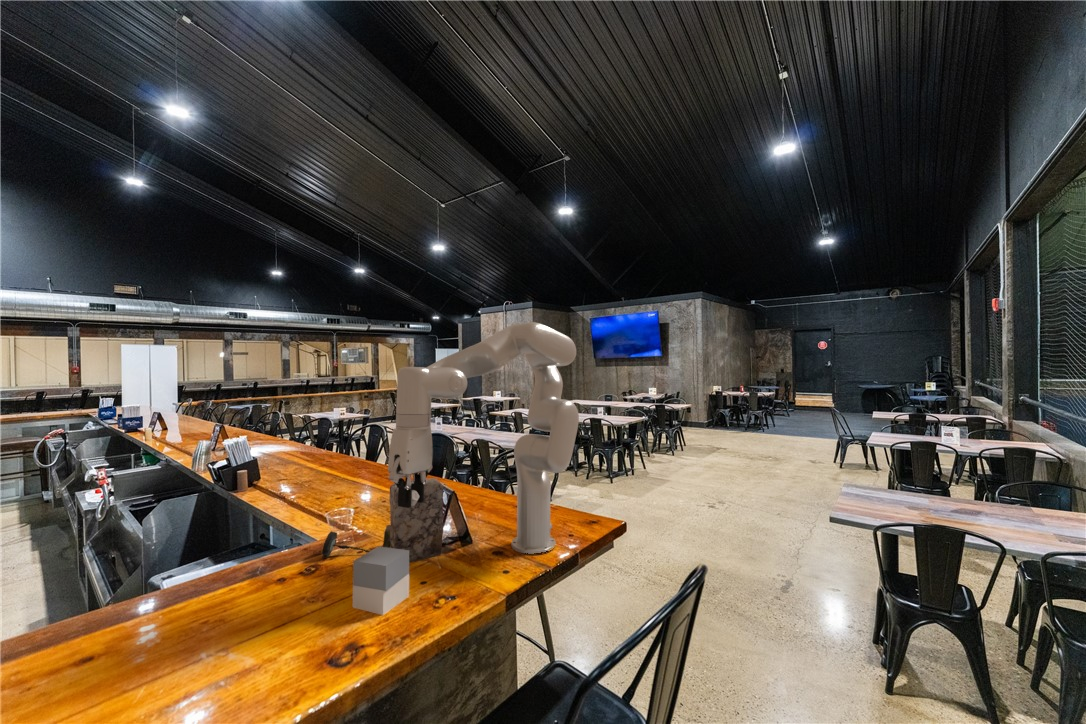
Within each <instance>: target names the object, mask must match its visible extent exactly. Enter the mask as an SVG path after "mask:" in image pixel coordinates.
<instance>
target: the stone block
mask: <svg viewBox="0 0 1086 724" xmlns="http://www.w3.org/2000/svg"><path fill="white" fill-rule="evenodd" d="M412 483H414V482H413V480H411V482H410V488H409V489H411V484H412ZM423 485H424V502H422V503H419V502H417V503H416V504H415V506H411V507H410V508H405V507H399V506H398V488H396V484H395V483H393V484H391V485H390V486H389V500H388V501H389V507H390V509H389V511H390V513H389V514H390V515H389V517H390V525H391V527H390V529H391V530H390V548H395V549H402V550H409V564H410V563H414V562H418V561H423V560H425V559H426V560H427V559H430V558H434V557H437V556H441V555H442V549H443V548H442V547H443V532H444V531H443V530H444V529H443V523H444V522H443V520H444V518H443V514H444V508H443V506H444V498H443V493H444V489H445V488H444V484H442V483H441V482H440V481H439V480H438V479H437V478H426V483H425V484H423Z"/></svg>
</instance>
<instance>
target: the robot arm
mask: <svg viewBox="0 0 1086 724" xmlns="http://www.w3.org/2000/svg"><path fill="white" fill-rule="evenodd" d="M522 355H525V358H526V360H527V362H528V364H529V366H530V368H531V370H532V372H533V375H534V385H533V386H534V387H533V392H532V394H531V398H530V399H531V400H530V404H529V408H528V412H527V423H528V425H529V427H531V428H532V429H533V430H536V431H542V432H549V435H548V436H547V435H542V434H535V433H528V434H524V435H522V436H520V437H519V438H518V439H517V441H516V442H515V444H514V449H513V456H514V462H515V468H516V477H517V478H516V479H517V488H516V489H517V491H516V493H517V494H516V495H517V497H516V498H517V499H516V501H517V502H516V508H517V509H516V537H514V538H513V539H512V541H511V548H512V549H513V550H514V551H516V552H517V553H522V554H525V553H526V555H535V554H534V553H541V552H546V551H548V550H550V549H552V548H553V547H554V546H555V544H556V543H557V542H556V540H555V538H554V537H552V536H551V529H552V528H553V524H552V523H551V480H550V475H549V473H555V474H560V473H562V472H563V471H565V470H566V469H567V468H568V467H569V465H570V464H571V461H572V456H573V453H574V447H575V442H576V437H577V433H578V428H579V422H580V420H579V419H580V417H579V409H578V408H577V406H576V404H575V403H574V402H573V401H571V400H569V399H564V398H563V399H562V395H563V394H562V393H563V387H564V382H563V378H562V375H561V373H560V371H559V369H558V368H557V367H565V366H569V365H571V364H572V363H573V361H574V360H575V359H576V356H577V347H576V344H575V342H574V340H573V339H572V338H570V336H568V335H565V334H564V333H562V332H560V331H558V330H555V329H554V328H552V327H549V326H548V325H545V324H543V323H539V322H535V321H532V322H531V321H530V322H524V323H516V324H512V325H511V324H510V325H508V326H507V327H505V328H503V329H501V330H500V331H498V332H495V333H494V334H492V335H490V336H489V337H487V338H485V339H484V340H481V341H480V342H478V343H475V344H473V345H471V346H470V345H469V346H468V347H466V348H464V349H462V350H459V351H457V352H454V353H452V354H449V355H447V356H445V357H443V358H441V359H439V360H437V361H435V362H434V363H432V364H430V365H428V366H426V367H424V366H423V367H422V366H403V367H401V368H399V369H398V371H397V376H396V377H397V379H396V381H397V382H396V383H397V384H396V385H397V386H396V411H395V412H396V414H395V428H393V430H392V433H391V437H390V438H391V439H390V443H389V451H388V460H387V461H388V463H387V464H388V465H387V471H388V473H389V475H388V480H389V481H391V482H392V483H393V484H396V488H398V506H399V507H405V508H410V507H411V501H412V490H415V491H417V493H418V494H419V496H420V497H419V499H418V501H417V502H419V503H422V502H424V485H423V484H425V483H426V479H427V477H428V475H429V473H430V472H431V471H432V469H433V451H434V450H433V435H432V427H431V423H432V422H431V419H432V399H441V400H454V399H457V398H459V397H461V396H462V395H463V394H464V393H465V392H466V390H467V388H468V379H470V378H474V377H481V376H485V375H488V374H491V373H494V372H496V371H497V370H499V369H500V368H503V366H506V364H508V363H510V362H511V361H512V362H513V360H515V359H517V358H518V357H520V356H522ZM411 481H413V482H414V483H412V484H411V489H409V488H410V482H411ZM556 545H557V544H556ZM555 547H556V546H555ZM527 553H528V554H527ZM546 553H547V552H546Z"/></svg>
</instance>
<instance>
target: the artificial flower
mask: <svg viewBox="0 0 1086 724" xmlns="http://www.w3.org/2000/svg"><path fill="white" fill-rule="evenodd" d="M390 527H391V524H388V525H386V527H385V529H384V531H383V533H384V534H383V537H384V538H383V543H382V546H381V547H388V548H391V547H390V530H391V529H390ZM337 538H338V532H337V531H332V530H331V531H330V532H329V533H328V534H327V537H326V539H325V540H324V542H323V547H322V552H321V554H322V557H321V558H325V559H326V558H328V559H329V557H330V556H331V554H332V552H333V549H334V547H337V548H339V549H342V550H346V549H348V550H349V549H352V550H357V551H363V552H365V553H368V552H370V551H371V550H367V549H364V548H360V547H357V546H356V547H355V546H350V545H344V544H342V545H341V544H339V545H338V544H337Z"/></svg>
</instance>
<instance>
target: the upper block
mask: <svg viewBox="0 0 1086 724" xmlns="http://www.w3.org/2000/svg"><path fill="white" fill-rule="evenodd" d="M369 551H370V552H365V553H364V554H363V555H361V556H360V557H358V558H356V559H354V560H353V563H352V568H353V572H352V574H353V576H352V586H353V585H354V586H360V587H365V588H371V589H377V590H383V591H386V590H388V589H389V588H390V587H392V586H393V585H394V584H396V583H397V582H398V581H400V580H401V579H402V578H404V577H405V576H406V575H408V574H409V575H410V563H409V550H402V549H395V548H391V547H390V548H388V547H382V546H376V547H375V548H373V549H372V550H369Z"/></svg>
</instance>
